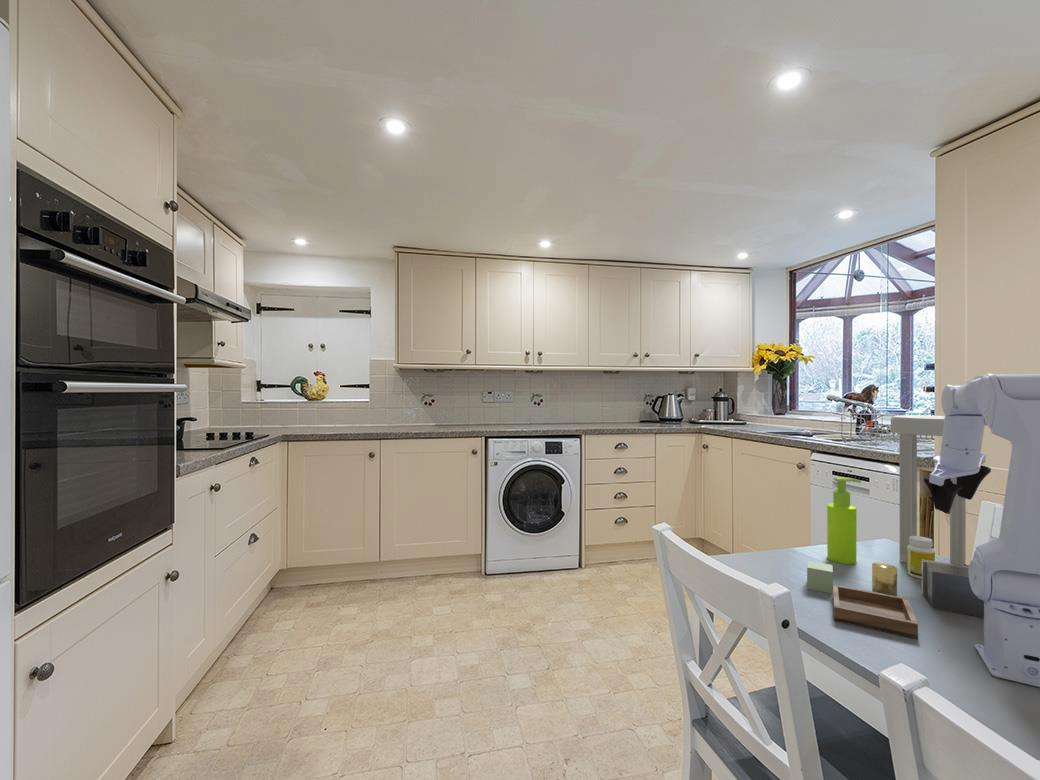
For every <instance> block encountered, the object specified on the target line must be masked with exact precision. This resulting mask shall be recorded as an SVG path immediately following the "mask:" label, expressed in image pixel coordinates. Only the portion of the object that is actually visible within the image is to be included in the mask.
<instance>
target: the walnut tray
mask: <svg viewBox="0 0 1040 780" xmlns="http://www.w3.org/2000/svg"><path fill="white" fill-rule="evenodd" d="M832 602H833V603H832V605H833V619H834V622H837V623H843V624H847V625H851V626H856V627H860V628H865V629H866V628H867V629H871V630H874V631H879V632H884V633H888V634H891V635H892V634H893V635H896V636H897V635H898V636H902V637H905V638H911V639H915V640H919V623H918V621H917V618H916V615H915V614H914V612H913V609H912V606H911V603H910V601H909V599H908V597H905V596H904V597H903V596H898V595H897V596H893V595H887V594H882V593H877V592H872V590H870V591H869V590H866V589H860V588H854V587H849V586H844V585H839V584H838V585H837V584H833V593H832Z"/></svg>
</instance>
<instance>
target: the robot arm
mask: <svg viewBox="0 0 1040 780" xmlns="http://www.w3.org/2000/svg"><path fill="white" fill-rule="evenodd" d="M941 409H942V412H943V414H944V416H945V418H944V427H943V435H942V436H941V444H940V445H941V446H940V453H939V455H936V456H934V457H933V458H932V462H934V463H936V465H935V468H934V470H933V471H932V472H931V473H929V474H928V473H927V474H926V475H925V476H924V477H923V482H924V483H925V485H926V486H927V488H928V489H929V491H930V494H931V497H932V501H933V502H932V503H933V505H934V506H933V507H934V509H935V510H938V511H939V512H942V513H946V514H947V513H950V509H951V507H952V504H953V500H954V498H955V496H956V494H958V496H960V497H963V498H966V500H968V501H970V500H972V499H973V498H974V496H975V494H976V492H977V490H978V488H979V487H980V485H981V482H983V480H984V479H985V478H986V477H987V476H988V475H989V474H990V473H991V471H992V468H990V467H989V466H985V465H983V464H985V463H986V458H987V454H986V453H983V452H982V445H983V438H984V431H985V426H987V427H988V428H989V430H990V432H991V434H992V435H995V436H997V437H1000V438H1002V439H1005V440H1008V441H1009V442H1010V444H1011V453H1010V458H1009V459H1010V460H1009V466H1008V467H1009V468H1008V472H1007V480H1006V487H1005V495H1004V501H1003V508H1002V515H1001V521H1000V529H999V536H998V538H997V539H994V540H991V541H988V542H985V543H982V544H980V545H978V546H976V547H975V550H974V552H973V557H972V559H971V560H970V562H969V565H968V566H969V582H970V586H971V589H972V591H973V593H974V594H975V595H976V596H977V597H978V598H979V599H980V600H983V601H984V618H983V644H977V643H975V644H974V648H975V650H976V651H977V653H978V654H979V656H980V658H981V660H982V661H983V662H984V665H985V666H986V668H987V670H988V671H989V673H990V675H992V676H994V677H996V678H1000V679H1005V680H1009V681H1012V682H1013V681H1014V682H1017V683H1021V684H1025V685H1030V686H1034V687H1038V688H1040V373H1023V374H1021V373H1019V374H1018V373H1016V374H1015V373H1014V374H1013V373H1012V374H1008V373H1007V374H1006V373H1005V374H995V373H986V374H983V375H979V376H978V375H976V376H974V377H973V380H969V381H966V382H965V383H964V384H962V385H951V384H946V385H945V386H944V387H943V389H942V392H941ZM954 477H956V479H957V484H954V483H952V482H953V481H951V479H950V478H954Z"/></svg>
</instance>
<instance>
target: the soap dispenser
mask: <svg viewBox="0 0 1040 780" xmlns="http://www.w3.org/2000/svg"><path fill="white" fill-rule="evenodd" d="M833 481H835V482H837V489H834V490H833V493H832V494H833V498H832V499H833V501H832V503H827V504H826V505H827V508H826V513H827V517H826V519H827V523H826V524H827V528H826V529H827V533H826V535H827V539H826V540H827V541H826V542H827V544H826V545H827V546H826V547H827V550H826V551H827V552H826V553H827V554H826V556H827V559H828V560H830V561H832V562H836V563H840V564H845V565H854V564H856V563H857V506H854V505H852V504H851V492H850V491H848V490H847V486H846V485H847V482H854V483H855V482H856V483H859V484H860V483H862V480H860V479H856V478H852V477H843V476H841V477H833Z"/></svg>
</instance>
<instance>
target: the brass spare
mask: <svg viewBox="0 0 1040 780" xmlns="http://www.w3.org/2000/svg"><path fill="white" fill-rule="evenodd" d="M871 580H872V581H871V582H872V583H871V592H877V593H882V594H887V595H893V596H898V568H897V567H896V566H894V565H893V564H890V563H885V562H872V563H871Z"/></svg>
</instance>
